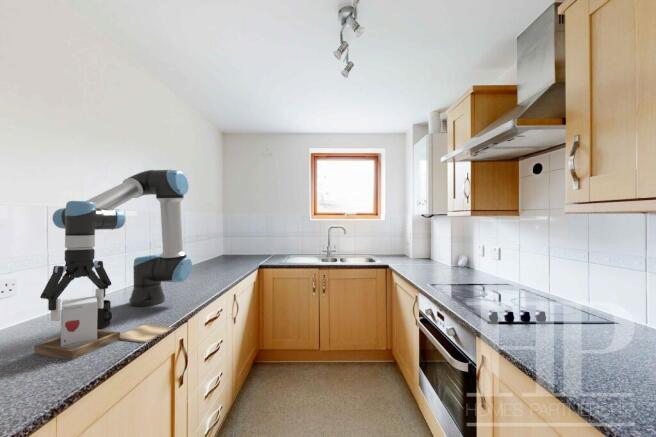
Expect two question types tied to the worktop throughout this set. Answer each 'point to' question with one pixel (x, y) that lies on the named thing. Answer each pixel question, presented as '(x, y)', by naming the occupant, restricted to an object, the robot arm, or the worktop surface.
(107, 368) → the worktop surface
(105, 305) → the mug
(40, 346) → the walnut frame
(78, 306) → the supplement box
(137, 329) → the light wooden block
